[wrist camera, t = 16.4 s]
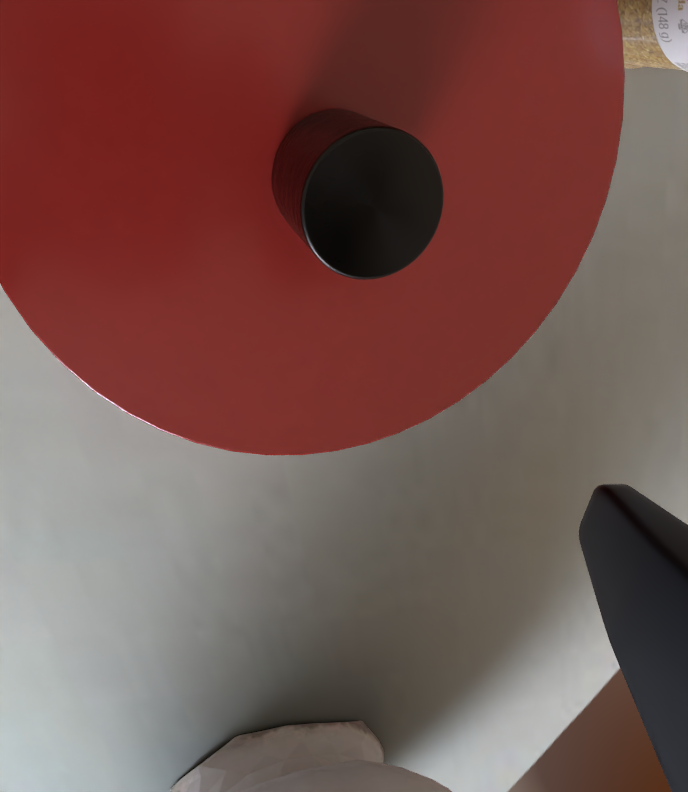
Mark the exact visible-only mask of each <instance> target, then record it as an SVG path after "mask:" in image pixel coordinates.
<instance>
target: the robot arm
mask: <svg viewBox="0 0 688 792" xmlns="http://www.w3.org/2000/svg"><path fill="white" fill-rule="evenodd" d="M579 540H580V544H581V548H582V551H583V555H584V558H585V561H586V565H587V568H588V572H589V575H590V578H591V582H592V585H593V588H594V592H595V595H596V599H597V602H598V605H599V609H600V612H601V615H602V619H603V622H604V625H605V628H606V631H607V634H608V637H609V640H610V643H611V646H612V648H613V651H614V653H615V656H616V658H617V661H618V663H619V666H620V668H621V670H622V673H623V675H624V678H625V680H626V682H627V684H628V687H629V690H630V692H631V694H632V697H633V699H634V702H635V704H636V706H637V709H638V711H639V714H640V716H641V719H642V721H643V723H644V726H645V728H646V730H647V733H648V736H649V738H650V740H651V743H652V745H653V747H654V750H655V752H656V755H657V757H658V759H659V762H660V764H661V767H662V769H663V772H664V774H665V777H666V779H667V781H668V784H669V786H670V788H671V791H672V792H688V525H687V524H685V523H684V522H682V521H681V520H679V519H678V518H676V517H675V516H674V515H672V514H671V513H669V512H668V511H666V510H665V509H663V508H662V507H660V506H659V505H657V504H656V503H654V502H653V501H651V500H650V499H648V498H647V497H645V496H644V495H642V494H641V493H639V492H638V491H636V490H635V489H633V488H632V487H630V486H628V485H624V484H603V485H599V486H598V487H597V488H596V489H595V490H594V492H593V494H592V496H591V499H590V501H589V503H588V506H587V508H586V511H585V513H584V516H583V518H582V521H581V523H580V527H579Z"/></svg>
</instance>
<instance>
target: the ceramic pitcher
mask: <svg viewBox="0 0 688 792" xmlns="http://www.w3.org/2000/svg"><path fill="white" fill-rule="evenodd" d="M383 758H384V749H383V747H382V746H381V744H380V742H379V740H378V738H377V737H376V736H375V735H374V734H373V733H372V732H371V730H370V729H369V728H368V727H367V726H366V724H365V723H364V722H363V721H362V720H360V721H351V722H336V723H314V724H301V725H287V726H282V727H278V728H273V729H269V730H264V731H260V732H255V733H249V734H244V735H239V736H236V737H235V738H233V739H232V740H231V741H230V742H228V743H227V744H226V745H225V746H223V747H222V748H221V749H220V750H218V751H217V752H216V753H214V754H213V755H212V756H210V757H209V758H208V759H206V760H205V761H204V762H203V763H201V764H200V765H199V766H197V767H196V768H195V769H193V770H192V771H191V772H189V773H188V774H187V775H185V776H184V777H183V778H181V779H180V780H179V781H178V782H177V783H176V784H174V785H173V786H172V788H171V791H170V792H452V791H450V790H449V789H448V788H446V787H445V786H443V785H441V784H439V783H438V782H436V781H434V780H432V779H430V778H427V777H425V776H422V775H419V774H417V773H414V772H412V771H409V770H406V769H404V768H401V767H396V766H392V765H387V764H383Z"/></svg>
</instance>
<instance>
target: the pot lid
mask: <svg viewBox="0 0 688 792" xmlns="http://www.w3.org/2000/svg"><path fill="white" fill-rule="evenodd" d="M624 83H625V70H624V53H623V37H622V27H621V21H620V16H619V10H618V4H617V0H0V284H1V286H2V288H3V289H4V291H5V293H6V294H7V296H8V297H9V299H10V300H11V301H12V303H13V304H14V306H15V307H16V309H17V310H18V312H19V313H20V314H21V316H22V317H23V319H24V320H25V322H26V323H27V325H28V326H29V327H30V329H31V330H32V331H33V332H34V334H35V335H36V336H37V337H38V338H39V339H40V340H41V341H42V342H43V344H44V345H45V346H46V347H47V348H48V349H49V350H50V351H51V352H52V354H53V355H54V356H55V357H56V358H57V359H58V360H59V361H60V362H61V363H62V364H63V365H64V366H65V367H66V368H67V369H69V370H70V371H71V372H72V373H73V374H74V375H76V376H77V377H78V378H79V379H80V380H81V381H82V382H84V383H85V384H86V385H87V386H88V387H89V388H91V389H92V390H93V391H94V392H96V393H97V394H99V395H100V396H102V397H103V398H105V399H106V400H108V401H109V402H111V403H112V404H114V405H115V406H117V407H118V408H120V409H121V410H123V411H124V412H126V413H128V414H130V415H132V416H134V417H135V418H137V419H139V420H141V421H143V422H145V423H147V424H149V425H151V426H153V427H155V428H157V429H159V430H161V431H164V432H167V433H170V434H172V435H175V436H178V437H181V438H184V439H186V440H189V441H192V442H195V443H198V444H202V445H207V446H211V447H215V448H220V449H224V450H228V451H234V452H243V453H252V454H261V455H306V454H314V453H323V452H332V451H338V450H342V449H346V448H351V447H355V446H360V445H364V444H368V443H371V442H374V441H377V440H380V439H383V438H386V437H388V436H391V435H394V434H397V433H400V432H402V431H404V430H406V429H408V428H411V427H413V426H415V425H417V424H419V423H421V422H424V421H426V420H428V419H430V418H432V417H433V416H435V415H437V414H438V413H440V412H442V411H443V410H445V409H447V408H448V407H450V406H452V405H454V404H455V403H457V402H459V401H460V400H461V399H463V398H464V397H465V396H467V395H468V394H469V393H471V392H472V391H473V390H475V389H476V388H477V387H479V386H480V385H482V384H483V383H484V382H486V381H487V380H488V379H489V378H490V377H491V376H492V375H493V374H494V373H496V372H497V371H498V370H499V369H500V368H501V367H502V366H503V365H504V364H506V363H507V362H508V361H509V360H510V359H511V358H512V357H513V356H514V355H515V354H516V353H517V352H518V350H519V349H520V348H521V347H522V346H523V345H524V344H525V343H526V342H527V341H528V339H529V338H530V337H531V336H532V335H533V334H534V333H535V332H536V330H537V329H538V328H539V326H540V325H541V324H542V322H543V321H544V320H545V318H546V317H547V316H548V314H549V313H550V312H551V310H552V309H553V308H554V306H555V305H556V304H557V302H558V300H559V299H560V297H561V296H562V294H563V292H564V291H565V289H566V287H567V286H568V284H569V282H570V281H571V279H572V277H573V276H574V274H575V272H576V271H577V269H578V267H579V264H580V262H581V260H582V258H583V256H584V254H585V252H586V250H587V248H588V246H589V244H590V242H591V240H592V237H593V235H594V232H595V229H596V227H597V224H598V221H599V218H600V216H601V213H602V210H603V208H604V205H605V202H606V199H607V195H608V191H609V188H610V184H611V180H612V176H613V172H614V168H615V164H616V160H617V154H618V147H619V141H620V134H621V127H622V121H623V104H624Z"/></svg>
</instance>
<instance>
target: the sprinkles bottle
mask: <svg viewBox="0 0 688 792" xmlns="http://www.w3.org/2000/svg"><path fill="white" fill-rule="evenodd" d="M617 4H618V10H619V16H620V21H621V27H622V37H623V53H624V68H640V67H645V66H646V67H655V68H665V69H680V70H685V71H687V72H688V0H617Z"/></svg>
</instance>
